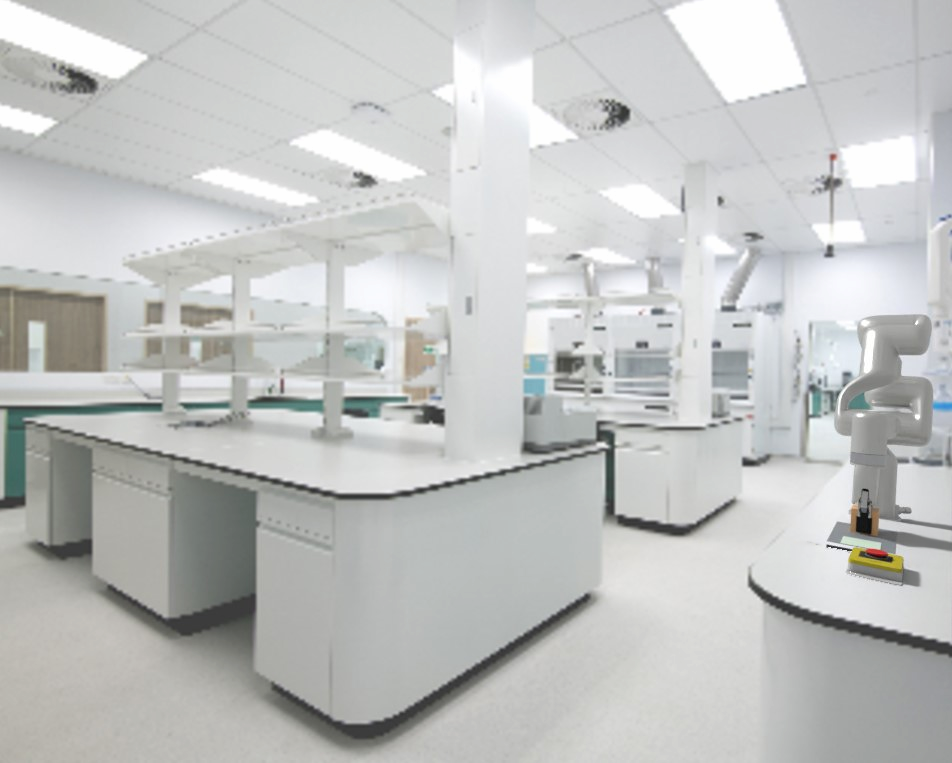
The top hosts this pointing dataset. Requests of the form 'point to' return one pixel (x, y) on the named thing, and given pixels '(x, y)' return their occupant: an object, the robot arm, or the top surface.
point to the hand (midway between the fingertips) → (864, 529)
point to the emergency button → (876, 565)
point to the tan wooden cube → (873, 515)
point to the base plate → (862, 539)
